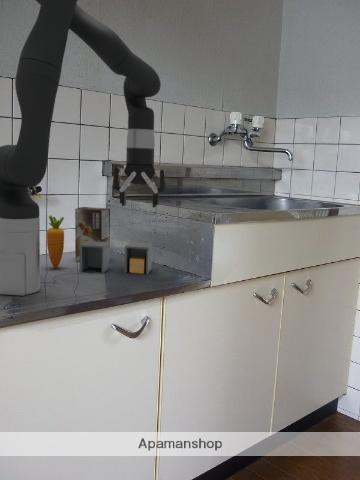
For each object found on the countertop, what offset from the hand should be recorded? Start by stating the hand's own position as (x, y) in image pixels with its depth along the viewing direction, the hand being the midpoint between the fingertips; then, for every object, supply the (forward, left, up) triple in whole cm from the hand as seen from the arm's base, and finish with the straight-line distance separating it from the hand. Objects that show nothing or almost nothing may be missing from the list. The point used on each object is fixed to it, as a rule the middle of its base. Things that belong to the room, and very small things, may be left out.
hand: (139, 206), depth 136 cm
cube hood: (0, 0, -18) cm, 18 cm away
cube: (-1, 0, -18) cm, 18 cm away
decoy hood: (-2, +12, -18) cm, 22 cm away
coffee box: (+10, +16, -18) cm, 26 cm away
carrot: (-3, +23, -18) cm, 29 cm away
